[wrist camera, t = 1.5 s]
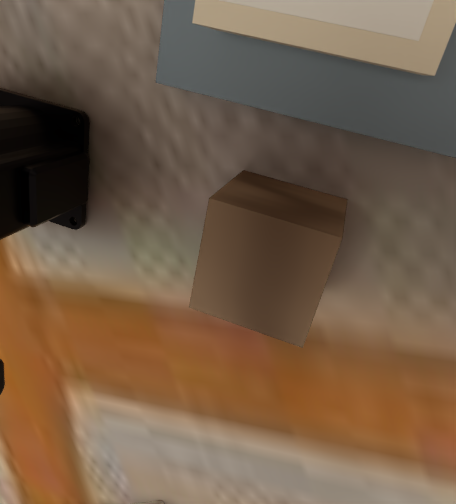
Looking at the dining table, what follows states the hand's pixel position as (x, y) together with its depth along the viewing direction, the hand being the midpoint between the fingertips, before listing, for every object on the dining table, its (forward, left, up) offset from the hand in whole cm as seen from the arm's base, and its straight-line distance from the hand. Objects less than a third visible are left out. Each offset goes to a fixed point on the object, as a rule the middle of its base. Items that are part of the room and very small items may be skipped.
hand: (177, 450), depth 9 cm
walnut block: (0, 0, -13) cm, 13 cm away
